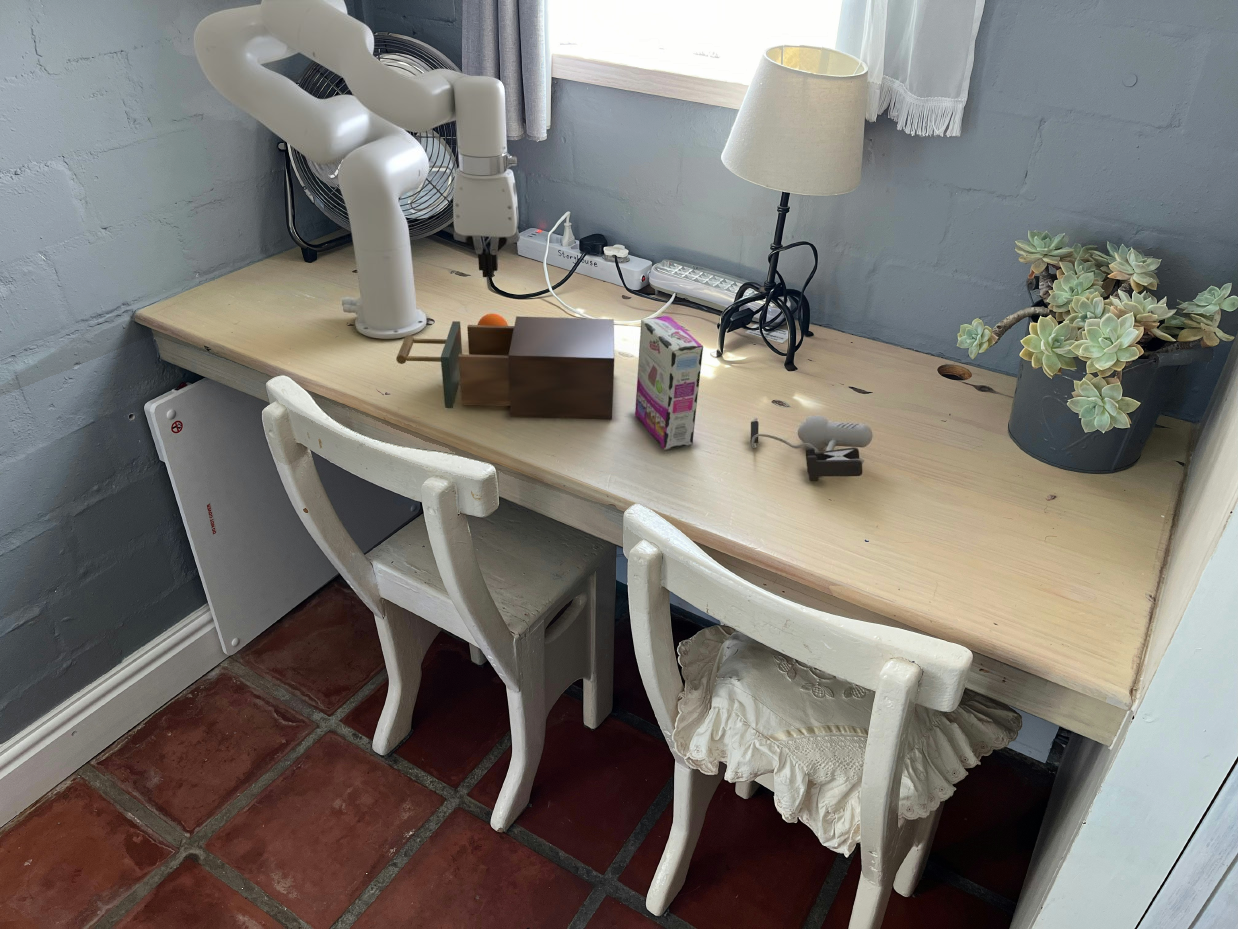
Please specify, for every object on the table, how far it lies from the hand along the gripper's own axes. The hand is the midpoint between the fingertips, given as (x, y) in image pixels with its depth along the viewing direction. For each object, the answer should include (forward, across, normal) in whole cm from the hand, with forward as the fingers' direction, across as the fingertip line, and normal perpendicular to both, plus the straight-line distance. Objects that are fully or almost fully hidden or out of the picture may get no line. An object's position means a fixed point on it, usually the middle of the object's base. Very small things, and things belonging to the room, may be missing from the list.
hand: (488, 274), depth 147 cm
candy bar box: (+13, -29, +26) cm, 42 cm away
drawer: (+12, +1, +18) cm, 21 cm away
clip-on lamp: (+13, -50, +32) cm, 61 cm away
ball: (+10, 0, 0) cm, 10 cm away
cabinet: (+13, -14, +17) cm, 26 cm away
